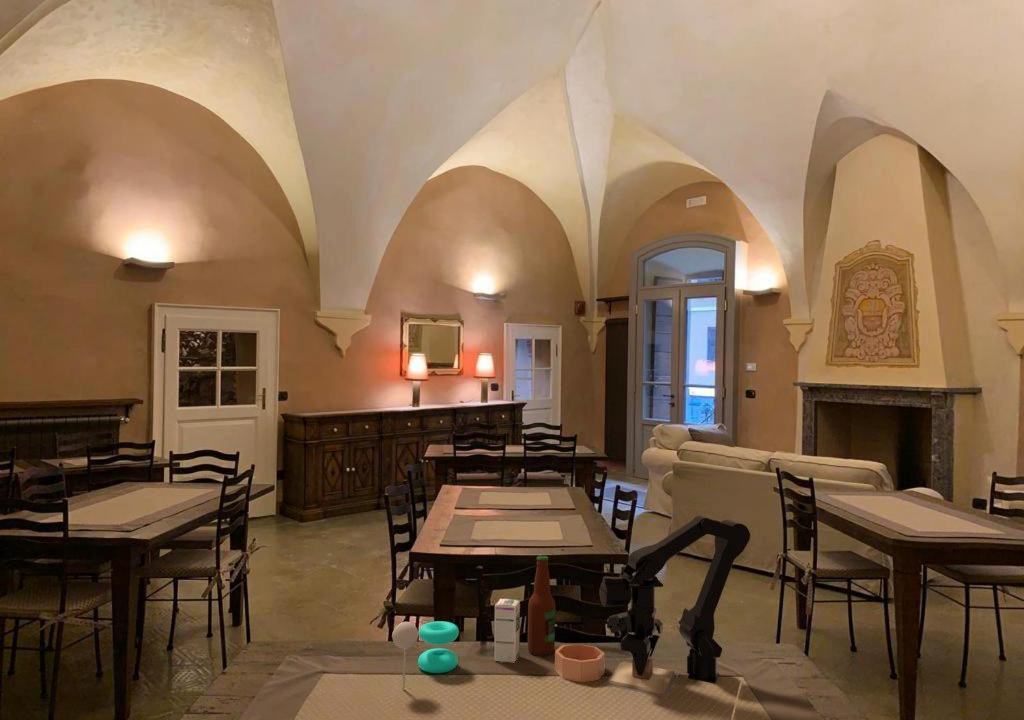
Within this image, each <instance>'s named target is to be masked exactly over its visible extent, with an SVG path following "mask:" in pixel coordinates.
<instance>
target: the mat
mask: <svg viewBox="0 0 1024 720" xmlns="http://www.w3.org/2000/svg"><path fill="white" fill-rule="evenodd" d="M621 664H622V662H619V664H618V665H617V667H616V668H614V670H615V671H614V670H613V672H612V673H611V674H612V675H613V674H614V673H615V672H616V670H617V669H618V668H619V666H620V665H621ZM611 674H610V676H609V677H608V678H607V679H606V681H605V682H604V683H603V686H608V687H613V688H619V689H623V690H628V691H633V692H636V693H637V692H638V693H643V694H647V695H651V696H652V695H653V696H658V697H662V698H667V699H668V698H669V697H670V693H671V691H672V690H673V688H674V686H675V684H676V682H677V680H678V678H679V676H680V673H678V672H675V675H674V677H673V679H672V681H671V683H670V684H669V686H668V688H667V690H666V692H665V694H664V695H662V694H657V693H652V692H647V691H642V690H637V689H633V688H628V687H623V686H618V685H613V684H609V679H610V678H611V677H612V675H611Z"/></svg>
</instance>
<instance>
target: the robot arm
mask: <svg viewBox="0 0 1024 720" xmlns="http://www.w3.org/2000/svg"><path fill="white" fill-rule="evenodd" d="M706 535H711V536H714V554H713V557H712V559H711V562H710V565H709V568H708V570H707V573H706V575H705V578H704V582H703V583H702V585H701V588H700V592H699V594H698V597H697V600H696V601H695V603H694V606H693V607H692V608H691V609H687V608H684V609H683V611H682V616H681V618H680V619H679V621H678V624H679V628H678V631H679V635H680V637H681V638H682V639H683V640H685V643H686V645H687V647H689V648H690V649H689V653H688V654H687V656H686V673H687V678H688V679H689V680H695V681H700V682H705V683H710V684H711V683H712V684H717V683H716V682H717V680H718V677H719V672H718V658H721V656H722V652H723V647H721V646H720V645H719V643H718V642H717V641H716V640H715V639H714V636H715V635H714V633H715V629H716V627H715V613H716V611H717V607H718V606H719V602H720V599H721V597H722V594H723V591H724V588H725V586H726V584H727V583H726V582H727V580H728V578H729V575H730V573H731V570H732V567H733V565H734V562H735V560H736V559H737V558H738V557H739V556H740V555H741V554H742V553H743V552H744V551H745V549H746V547H747V545H749V542H750V539H751V532H750V530H749V528H748V527H747V525H745V524H744V523H740V522H737V521H734V520H731V519H724V520H722V521H720V520H719V521H718V520H715V519H711V518H708V517H705V516H702V515H696V516H695V517H694V518H693V519H692V520H690V521H689V522H687V523H686V524H685V525H683V526H681V527H680V528H679V529H677V530H675V531H673V532H672V533H670V534H669V535H668V536H666V537H665V538H662V539H661V540H660V541H659V542H657V543H654V544H651V545H650V544H649V545H646V546H643V547H641V548H638V549H636V550H634V551H632V552H631V553H630V554H629V555H628V560H627V561H628V562H627V563H626V564H625V566H624V567H623V569H622V571H621V572H620V573H619V576H608V575H607V576H603V577H602V581H601V583H600V587H599V589H598V590H599V593H598V594H599V600H600V604H601V605H602V607H626V606H628V604H630V608H629V609H628V610H627V611H625V612H620V613H618V614H613V615H610V616H609V617H608V618H607V619H606V624H607V625H606V628H607V629H609V631H610V633H611V634H615V633H616V632H621V631H625V630H626V633H627V634H626V635H625V636H623V638H622V639H621V640H620V650H621V651H624V652H630V654H631V655H632V660H633V659H634V663H635V667H636V671H637V674H638V675H640V676H642V675H643V672H644V669H645V667H646V664H647V661H648V658H649V657H653V654H654V652H655V649H656V647H657V646H658V645H657V644H658V643H659V639H660V635H661V634H662V633H663V630H664V629H663V628H664V626H663V625H664V623H663V622H662V621H661V620H660V619H659V618H656V617H655V615H656V614H657V607H655V604H656V603H655V596H656V595H655V590H656V589H655V588H663V587H664V584H663V583H662V582H661V581H660V580H659V579H658V577H657V575H658V573H660V572H661V571H662V570H663V568H664V567H665V566H666V564H667V562H668V561H670V559H672V558H673V557H674V556H676V555H677V554H679V553H680V552H682V551H683V550H685V549H686V548H688V547H689V546H691V545H692V544H694V543H695V542H697V541H699V540H700V539H701V538H703V537H705V536H706ZM655 632H657V634H655ZM632 633H633V634H632ZM658 634H659V635H658Z"/></svg>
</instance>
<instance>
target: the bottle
mask: <svg viewBox="0 0 1024 720" xmlns="http://www.w3.org/2000/svg"><path fill="white" fill-rule="evenodd" d="M536 560H537V561H536V565H537V566H536V571H535V576H534V583H533V594H532V595H531V597H530V598H529V599H528V605H527V606H528V611H527V612H528V613H527V614H528V615H527V650H528V652H529V653H530V654H531V655H534V656H539V657H545V656H546V655H547V656H550V655H552V654H553V653H555V646H556V645H555V644H556V643H555V642H556V641H555V640H556V638H555V637H556V602H555V600H554V598H553V595H552V594H551V581H550V580H551V579H550V573H549V572H550V571H549V568H548V566H549V556H546V555H538V556H537V557H536Z"/></svg>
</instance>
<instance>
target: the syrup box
mask: <svg viewBox="0 0 1024 720" xmlns="http://www.w3.org/2000/svg"><path fill="white" fill-rule="evenodd" d="M520 602H521V600H519V599H515V598H514V599H513V598H499V600H498V601H497V602H496V603H495V605H494V638H493V639H494V641H493V642H494V647H493V648H494V649H493V650H494V656H493V657H494V658H493V660H494V662H496V661H516V659H517V658H518V659H519V657H520V655H521V653H520V652H521V650H520V649H521V647H520V646H521V644H520V643H521V642H520V641H521V639H520V638H521V636H520V635H521V620H520V617H521V614H520V613H521V610H520V609H521V603H520ZM518 659H517V660H518ZM516 662H517V661H516Z"/></svg>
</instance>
